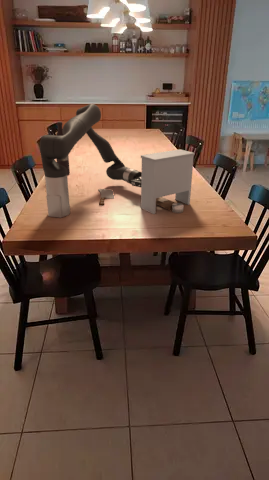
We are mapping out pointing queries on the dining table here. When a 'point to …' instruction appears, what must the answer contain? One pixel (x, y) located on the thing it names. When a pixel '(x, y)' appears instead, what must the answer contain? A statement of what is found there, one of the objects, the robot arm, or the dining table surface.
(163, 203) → the upright wooden plank
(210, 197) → the dining table surface
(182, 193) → the cabinet
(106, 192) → the kitchen cleaver
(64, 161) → the wine bottle
